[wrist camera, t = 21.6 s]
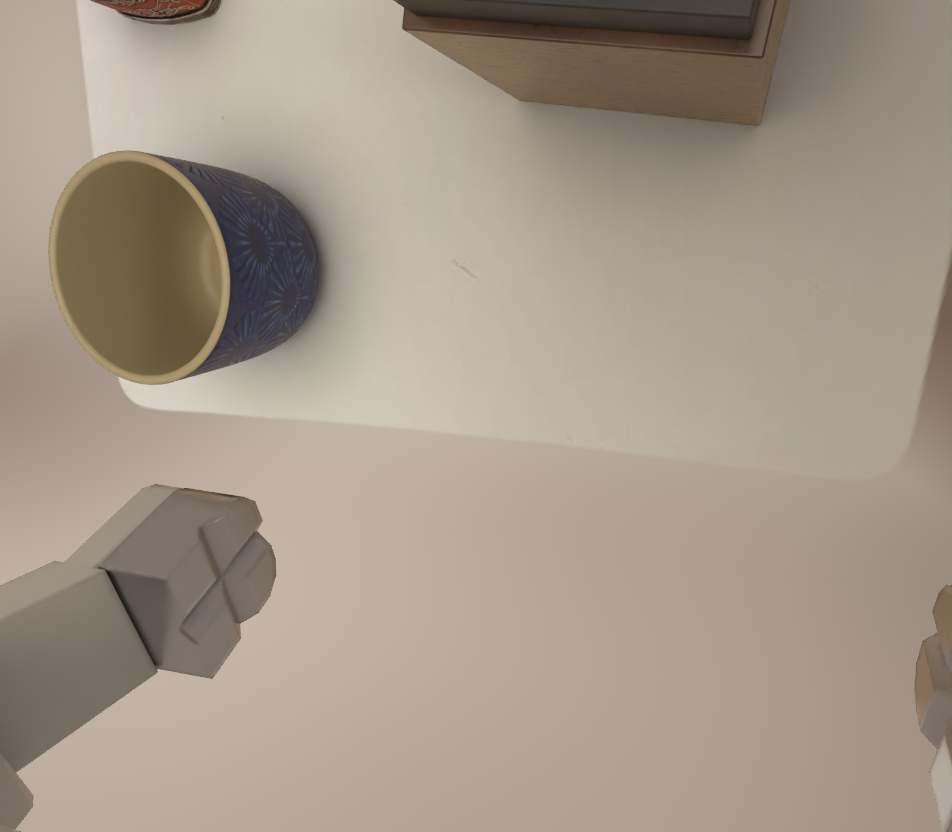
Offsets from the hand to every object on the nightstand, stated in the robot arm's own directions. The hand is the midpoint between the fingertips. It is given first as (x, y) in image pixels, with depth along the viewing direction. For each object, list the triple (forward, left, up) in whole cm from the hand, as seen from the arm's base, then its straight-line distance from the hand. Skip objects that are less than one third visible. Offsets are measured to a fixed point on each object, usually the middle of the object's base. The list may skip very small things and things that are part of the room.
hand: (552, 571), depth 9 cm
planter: (+29, +2, -34) cm, 45 cm away
